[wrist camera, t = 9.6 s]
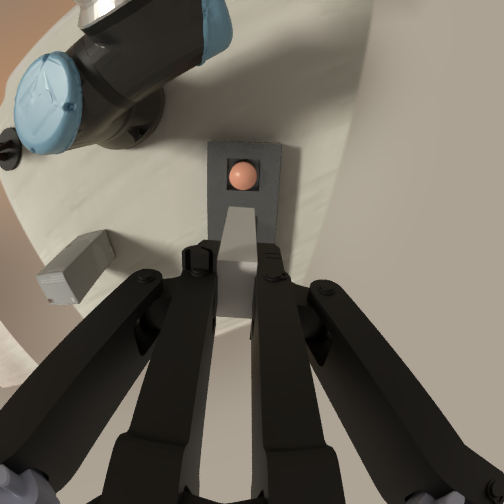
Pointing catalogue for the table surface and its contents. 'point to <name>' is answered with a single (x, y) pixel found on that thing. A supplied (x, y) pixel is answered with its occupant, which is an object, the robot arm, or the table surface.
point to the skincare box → (76, 268)
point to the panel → (256, 197)
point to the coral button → (243, 175)
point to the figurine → (9, 149)
